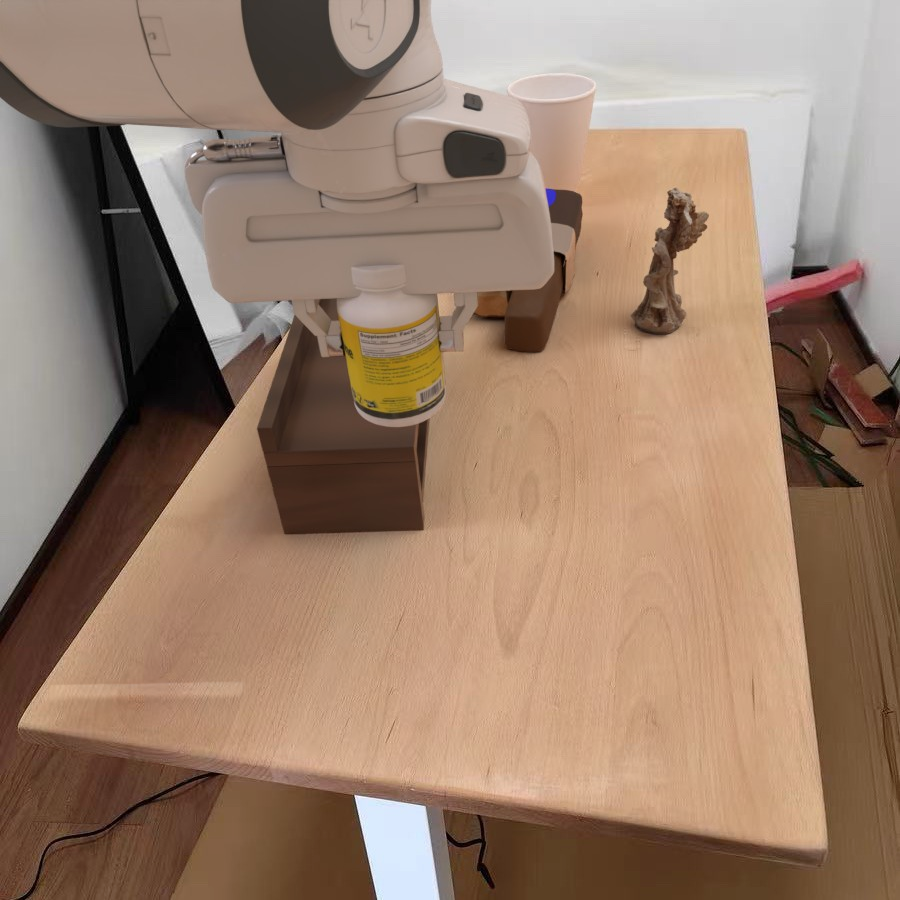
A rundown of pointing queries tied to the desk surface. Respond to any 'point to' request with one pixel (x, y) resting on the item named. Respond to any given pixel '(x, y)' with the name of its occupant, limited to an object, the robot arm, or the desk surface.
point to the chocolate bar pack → (537, 308)
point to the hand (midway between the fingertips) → (394, 349)
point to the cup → (557, 123)
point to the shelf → (336, 448)
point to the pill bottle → (392, 348)
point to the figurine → (668, 265)
